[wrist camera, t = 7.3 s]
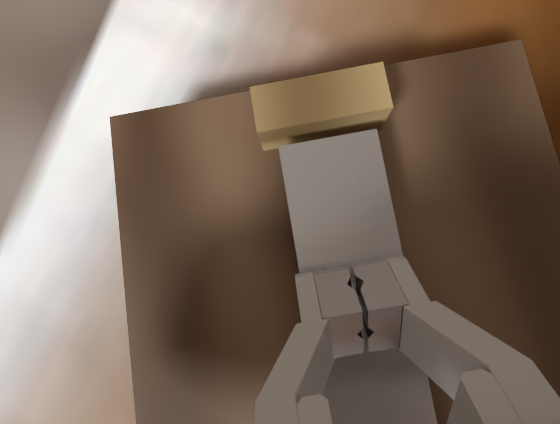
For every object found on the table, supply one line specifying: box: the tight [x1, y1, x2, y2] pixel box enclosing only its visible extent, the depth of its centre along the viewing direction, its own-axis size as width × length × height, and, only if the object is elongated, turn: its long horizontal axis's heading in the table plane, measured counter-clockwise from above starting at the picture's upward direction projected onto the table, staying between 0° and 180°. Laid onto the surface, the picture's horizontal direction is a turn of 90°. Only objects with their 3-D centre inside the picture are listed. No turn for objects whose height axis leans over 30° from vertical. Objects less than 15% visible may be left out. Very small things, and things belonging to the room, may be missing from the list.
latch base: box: [110, 39, 560, 424], centre depth 12 cm, size 16×20×6 cm
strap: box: [278, 129, 437, 424], centre depth 10 cm, size 3×14×1 cm, turn 9°
